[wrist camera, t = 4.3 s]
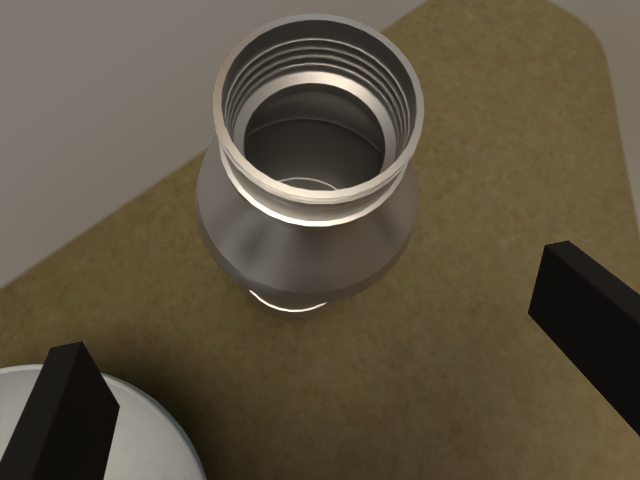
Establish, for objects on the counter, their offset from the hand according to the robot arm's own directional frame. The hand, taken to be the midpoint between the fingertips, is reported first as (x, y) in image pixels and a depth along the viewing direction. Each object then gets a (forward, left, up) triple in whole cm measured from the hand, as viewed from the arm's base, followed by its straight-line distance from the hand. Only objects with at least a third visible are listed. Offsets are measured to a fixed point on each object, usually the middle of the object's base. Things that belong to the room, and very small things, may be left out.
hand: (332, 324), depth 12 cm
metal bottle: (-2, +3, -14) cm, 15 cm away
